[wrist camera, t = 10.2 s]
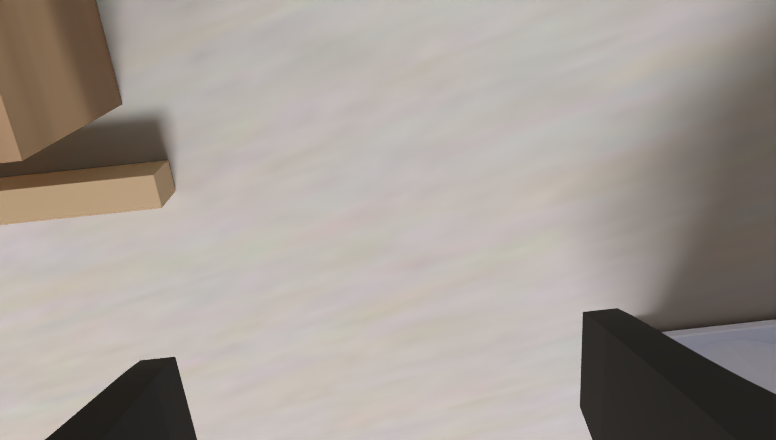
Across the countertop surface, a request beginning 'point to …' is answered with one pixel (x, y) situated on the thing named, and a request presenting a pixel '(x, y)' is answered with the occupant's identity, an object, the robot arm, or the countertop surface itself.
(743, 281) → the countertop surface
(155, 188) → the wall board
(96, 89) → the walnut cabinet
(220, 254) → the countertop surface
